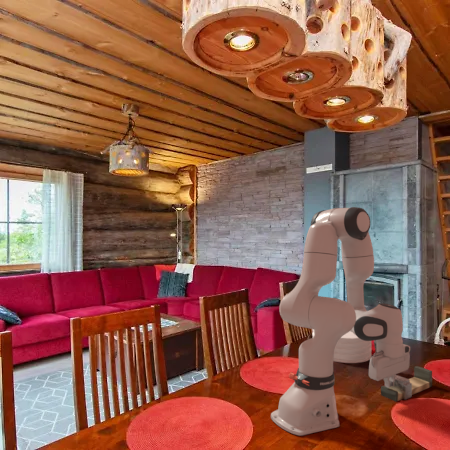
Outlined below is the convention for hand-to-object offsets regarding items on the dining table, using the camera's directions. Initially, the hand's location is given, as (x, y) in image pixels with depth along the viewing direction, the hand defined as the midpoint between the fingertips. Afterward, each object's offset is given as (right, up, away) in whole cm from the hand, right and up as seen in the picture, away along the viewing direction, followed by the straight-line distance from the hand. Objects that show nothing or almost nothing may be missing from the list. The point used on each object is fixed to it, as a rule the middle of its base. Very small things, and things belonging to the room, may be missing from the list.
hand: (389, 386), depth 132 cm
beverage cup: (+9, -4, +25) cm, 27 cm away
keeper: (+4, -4, +2) cm, 6 cm away
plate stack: (-2, -5, +48) cm, 48 cm away
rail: (+9, -4, +5) cm, 11 cm away
